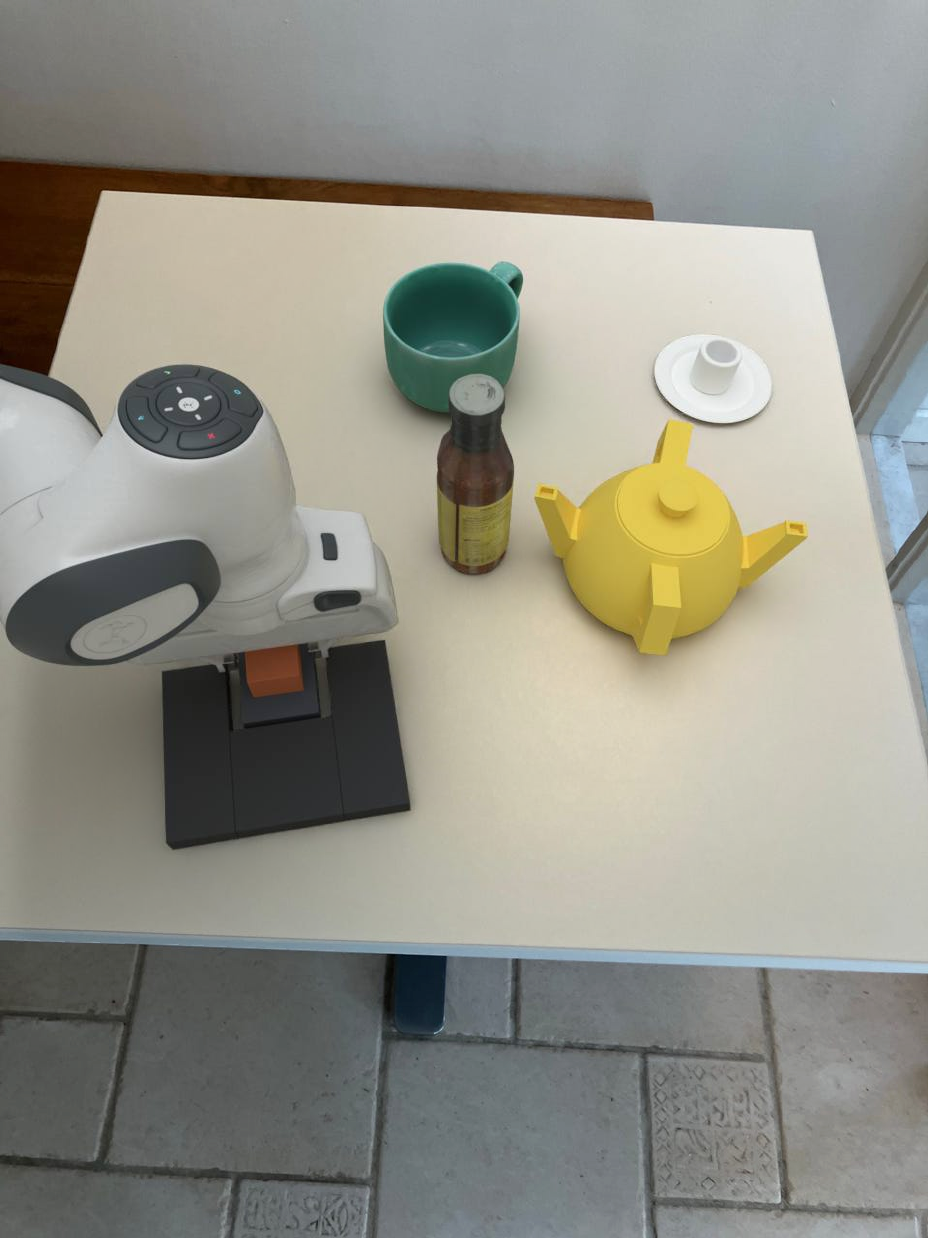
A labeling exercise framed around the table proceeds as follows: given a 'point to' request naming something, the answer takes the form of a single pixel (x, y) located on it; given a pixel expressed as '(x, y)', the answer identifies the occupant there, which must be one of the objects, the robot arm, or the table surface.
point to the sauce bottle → (474, 477)
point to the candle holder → (713, 378)
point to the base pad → (280, 755)
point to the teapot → (659, 546)
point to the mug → (451, 328)
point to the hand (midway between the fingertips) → (274, 656)
